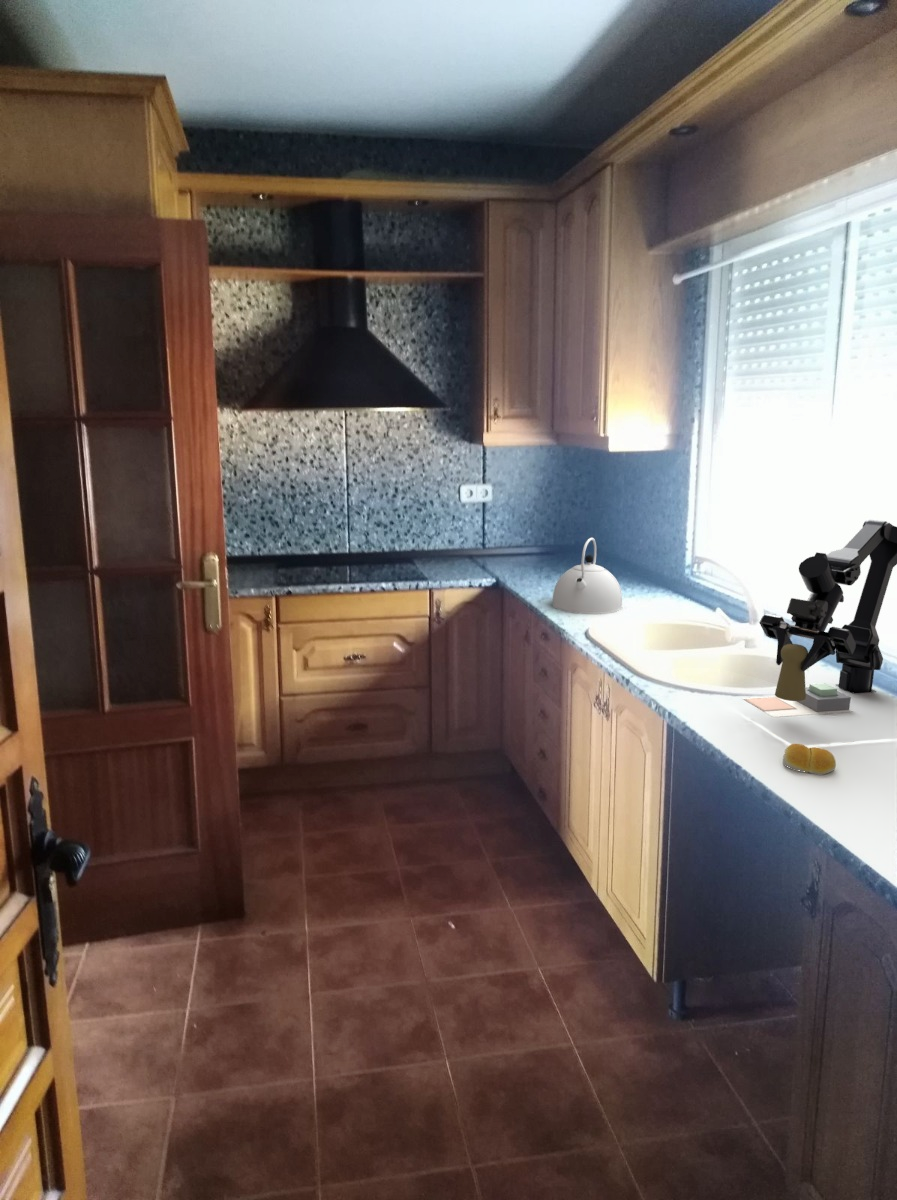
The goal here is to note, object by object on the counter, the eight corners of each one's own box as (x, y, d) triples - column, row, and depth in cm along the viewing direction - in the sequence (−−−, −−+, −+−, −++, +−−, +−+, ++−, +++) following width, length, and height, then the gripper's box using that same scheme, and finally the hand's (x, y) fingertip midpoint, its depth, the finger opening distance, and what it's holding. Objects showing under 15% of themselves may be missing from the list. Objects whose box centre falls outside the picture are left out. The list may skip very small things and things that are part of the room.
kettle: (612, 618, 271) (616, 546, 266) (541, 611, 279) (544, 541, 274) (628, 602, 293) (632, 536, 288) (562, 596, 302) (565, 531, 297)
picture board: (817, 696, 200) (818, 681, 199) (851, 714, 188) (853, 698, 188) (742, 701, 196) (743, 686, 195) (772, 719, 184) (774, 704, 183)
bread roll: (835, 779, 156) (838, 758, 155) (782, 771, 159) (784, 750, 158) (833, 762, 163) (836, 741, 162) (782, 754, 166) (784, 734, 165)
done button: (824, 693, 194) (825, 683, 194) (836, 699, 190) (837, 688, 190) (808, 694, 193) (809, 684, 193) (819, 700, 189) (821, 689, 189)
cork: (799, 691, 185) (804, 641, 182) (810, 701, 179) (815, 649, 176) (770, 691, 185) (775, 641, 182) (780, 701, 179) (785, 649, 177)
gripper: (767, 576, 186) (735, 636, 181) (855, 591, 172) (823, 655, 168) (783, 606, 193) (752, 664, 188) (868, 623, 179) (838, 686, 175)
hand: (789, 667), depth 180 cm, fingers closed on cork, 5 cm apart
